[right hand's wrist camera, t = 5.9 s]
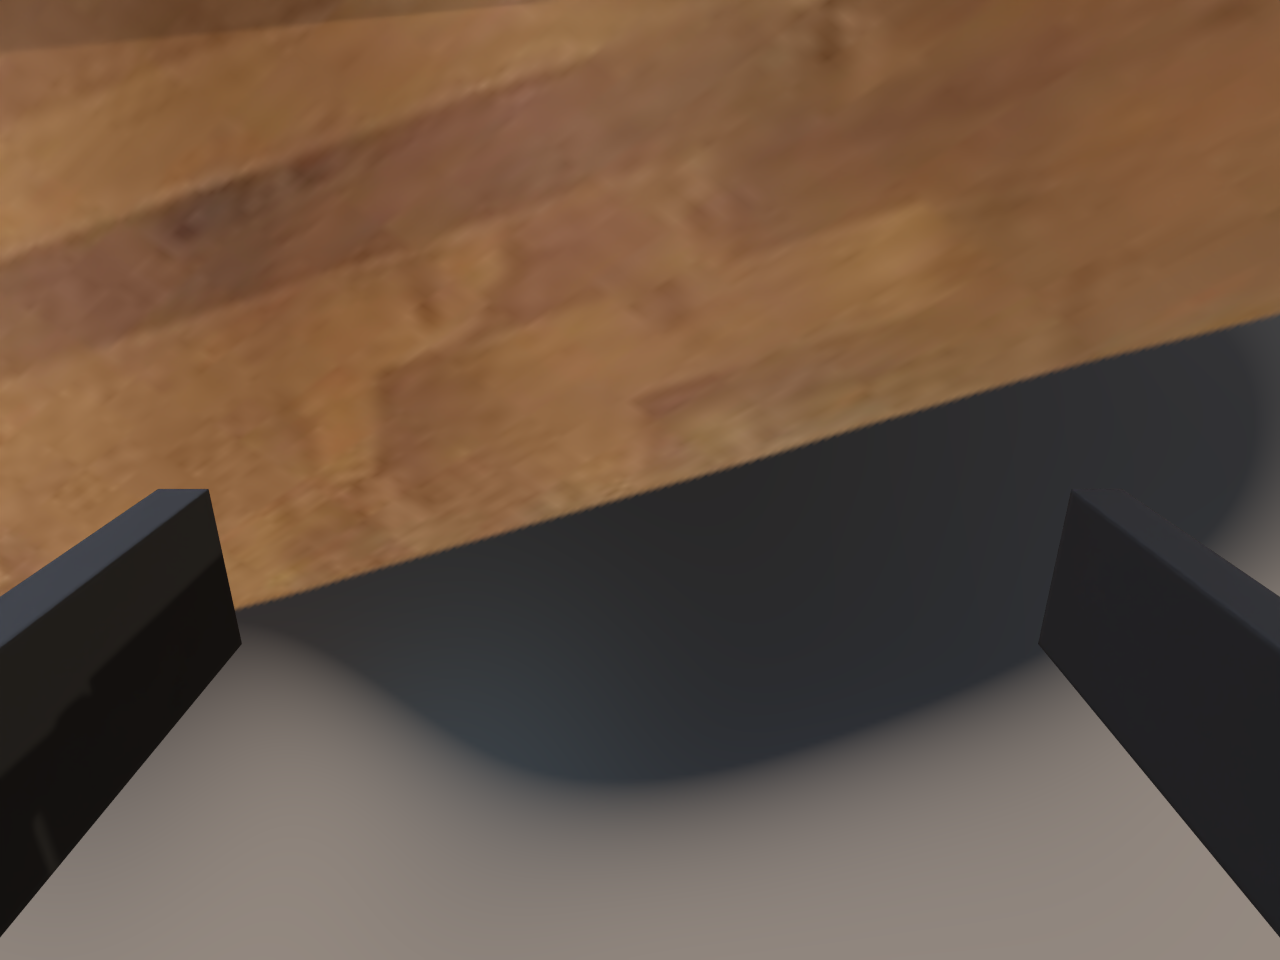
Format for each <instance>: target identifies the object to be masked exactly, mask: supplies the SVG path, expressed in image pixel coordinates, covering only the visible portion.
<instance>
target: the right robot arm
mask: <svg viewBox="0 0 1280 960" xmlns="http://www.w3.org/2000/svg"><path fill="white" fill-rule="evenodd" d="M241 644H242V643H241V638H240V633H239V629H238V624H237V619H236V615H235V610H234V605H233V601H232V596H231V591H230V587H229V582H228V578H227V573H226V568H225V564H224V559H223V554H222V550H221V545H220V540H219V536H218V531H217V526H216V522H215V517H214V513H213V508H212V503H211V499H210V494H209V489H158V490H156V491H155V492H153V493H152V494H150V495H149V496H147V497H146V498H144V499H143V500H141V501H140V502H139V503H137V504H136V505H134V506H133V507H131V508H130V509H128V510H127V511H125V512H124V513H122V514H121V515H119V516H118V517H117V518H115V519H114V520H112V521H111V522H109V523H108V524H106V525H105V526H103V527H102V528H100V529H99V530H97V531H96V532H95V533H93V534H92V535H90V536H89V537H87V538H86V539H84V540H83V541H81V542H80V543H78V544H77V545H76V546H74V547H73V548H71V549H70V550H68V551H67V552H65V553H64V554H62V555H61V556H59V557H58V558H56V559H55V560H54V561H52V562H51V563H49V564H48V565H46V566H45V567H43V568H42V569H40V570H39V571H37V572H36V573H34V574H33V575H32V576H30V577H29V578H27V579H26V580H24V581H23V582H21V583H20V584H18V585H17V586H15V587H14V588H13V589H11V590H10V591H8V592H7V593H5V594H4V595H2V596H1V597H0V937H1V936H2V934H3V933H4V932H5V931H6V929H7V928H8V927H9V926H10V925H11V923H12V922H13V921H14V920H15V919H16V917H17V916H18V915H19V914H20V912H21V911H22V910H23V909H24V908H25V906H26V905H27V904H28V903H29V902H30V900H31V899H32V898H33V897H34V896H35V894H36V893H37V892H38V891H39V889H40V888H41V887H42V886H43V885H44V883H45V882H46V881H47V880H48V879H49V877H50V876H51V875H52V874H53V872H54V871H55V870H56V869H57V868H58V866H59V865H60V864H61V863H62V862H63V860H64V859H65V858H66V857H67V855H68V854H69V853H70V852H71V851H72V849H73V848H74V847H75V846H76V845H77V843H78V842H79V841H80V840H81V838H82V837H83V836H84V835H85V834H86V832H87V831H88V830H89V829H90V828H91V826H92V825H93V824H94V823H95V821H96V820H97V819H98V818H99V817H100V815H101V814H102V813H103V812H104V810H105V809H106V808H107V807H108V806H109V804H110V803H111V802H112V801H113V800H114V798H115V797H116V796H117V795H118V794H119V792H120V791H121V790H122V789H123V787H124V786H125V785H126V784H127V783H128V781H129V780H130V779H131V778H132V777H133V775H134V774H135V773H136V772H137V770H138V769H139V768H140V767H141V766H142V764H143V763H144V762H145V761H146V760H147V758H148V757H149V756H150V755H151V753H152V752H153V751H154V750H155V749H156V747H157V746H158V745H159V744H160V743H161V741H162V740H163V739H164V738H165V736H166V735H167V734H168V733H169V732H170V730H171V729H172V728H173V727H174V726H175V724H176V723H177V722H178V721H179V719H180V718H181V717H182V716H183V715H184V713H185V712H186V711H187V710H188V709H189V707H190V706H191V705H192V704H193V702H194V701H195V700H196V699H197V698H198V696H199V695H200V694H201V693H202V692H203V690H204V689H205V688H206V687H207V685H208V684H209V683H210V682H211V681H212V679H213V678H214V677H215V676H216V675H217V673H218V672H219V671H220V670H221V668H222V667H223V666H224V665H225V664H226V662H227V661H228V660H229V659H230V658H231V656H232V655H233V654H234V653H235V651H236V650H237V649H238V648H239V647H240V645H241ZM1038 644H1039V645H1040V647H1041V648H1042V649H1043V650H1044V651H1045V653H1046V654H1047V655H1048V656H1049V658H1050V659H1051V660H1052V661H1053V662H1054V664H1055V665H1056V666H1057V667H1058V668H1059V670H1060V671H1061V672H1062V673H1063V675H1064V676H1065V677H1066V678H1067V679H1068V681H1069V682H1070V683H1071V684H1072V685H1073V687H1074V688H1075V689H1076V690H1077V691H1078V693H1079V694H1080V695H1081V696H1082V698H1083V699H1084V700H1085V701H1086V702H1087V704H1088V705H1089V706H1090V707H1091V709H1092V710H1093V711H1094V712H1095V713H1096V715H1097V716H1098V717H1099V718H1100V719H1101V721H1102V722H1103V723H1104V724H1105V726H1106V727H1107V728H1108V729H1109V730H1110V732H1111V733H1112V734H1113V735H1114V736H1115V738H1116V739H1117V740H1118V741H1119V743H1120V744H1121V745H1122V746H1123V747H1124V749H1125V750H1126V751H1127V752H1128V753H1129V755H1130V756H1131V757H1132V758H1133V760H1134V761H1135V762H1136V763H1137V764H1138V766H1139V767H1140V768H1141V769H1142V770H1143V772H1144V773H1145V774H1146V775H1147V776H1148V778H1149V779H1150V780H1151V781H1152V783H1153V784H1154V785H1155V786H1156V787H1157V789H1158V790H1159V791H1160V792H1161V794H1162V795H1163V796H1164V797H1165V798H1166V800H1167V801H1168V802H1169V803H1170V804H1171V806H1172V807H1173V808H1174V809H1175V811H1176V812H1177V813H1178V814H1179V815H1180V817H1181V818H1182V819H1183V820H1184V821H1185V823H1186V824H1187V825H1188V826H1189V828H1190V829H1191V830H1192V831H1193V832H1194V834H1195V835H1196V836H1197V837H1198V838H1199V840H1200V841H1201V842H1202V843H1203V845H1204V846H1205V847H1206V848H1207V849H1208V851H1209V852H1210V853H1211V854H1212V855H1213V857H1214V858H1215V859H1216V860H1217V862H1218V863H1219V864H1220V865H1221V866H1222V868H1223V869H1224V870H1225V871H1226V872H1227V874H1228V875H1229V876H1230V877H1231V878H1232V880H1233V881H1234V882H1235V883H1236V885H1237V886H1238V887H1239V888H1240V889H1241V891H1242V892H1243V893H1244V894H1245V896H1246V897H1247V898H1248V899H1249V900H1250V902H1251V903H1252V904H1253V905H1254V907H1255V908H1256V909H1257V910H1258V911H1259V913H1260V914H1261V915H1262V916H1263V917H1264V919H1265V920H1266V921H1267V922H1268V924H1269V925H1270V926H1271V927H1272V928H1273V930H1274V931H1275V932H1276V933H1277V934H1278V936H1279V937H1280V597H1279V596H1278V595H1276V594H1275V593H1273V592H1272V591H1270V590H1269V589H1267V588H1266V587H1265V586H1263V585H1262V584H1260V583H1259V582H1257V581H1256V580H1254V579H1253V578H1251V577H1250V576H1248V575H1247V574H1245V573H1244V572H1243V571H1241V570H1240V569H1238V568H1237V567H1235V566H1234V565H1232V564H1231V563H1229V562H1228V561H1226V560H1225V559H1224V558H1222V557H1221V556H1219V555H1218V554H1216V553H1215V552H1213V551H1212V550H1210V549H1209V548H1207V547H1206V546H1204V545H1203V544H1202V543H1200V542H1199V541H1197V540H1196V539H1194V538H1193V537H1191V536H1190V535H1188V534H1187V533H1185V532H1184V531H1183V530H1181V529H1180V528H1178V527H1177V526H1175V525H1174V524H1172V523H1171V522H1169V521H1168V520H1166V519H1165V518H1163V517H1162V516H1161V515H1159V514H1158V513H1156V512H1155V511H1153V510H1152V509H1150V508H1149V507H1147V506H1146V505H1144V504H1143V503H1141V502H1140V501H1139V500H1137V499H1136V498H1134V497H1133V496H1131V495H1130V494H1128V493H1127V492H1125V491H1124V490H1122V489H1072V490H1071V494H1070V499H1069V503H1068V508H1067V513H1066V517H1065V522H1064V526H1063V531H1062V536H1061V540H1060V545H1059V550H1058V554H1057V559H1056V564H1055V568H1054V573H1053V578H1052V582H1051V587H1050V591H1049V596H1048V601H1047V605H1046V610H1045V615H1044V619H1043V624H1042V629H1041V633H1040V638H1039V643H1038Z"/></svg>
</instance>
